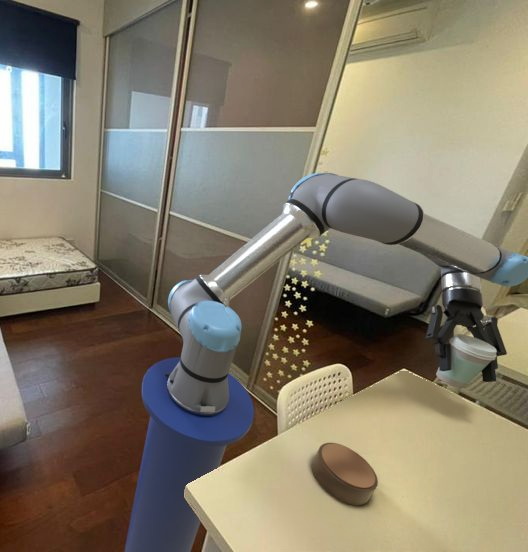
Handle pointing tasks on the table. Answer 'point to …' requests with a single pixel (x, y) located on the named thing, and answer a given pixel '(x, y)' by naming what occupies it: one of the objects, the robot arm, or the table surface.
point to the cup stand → (344, 473)
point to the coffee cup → (466, 360)
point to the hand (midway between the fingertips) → (467, 375)
